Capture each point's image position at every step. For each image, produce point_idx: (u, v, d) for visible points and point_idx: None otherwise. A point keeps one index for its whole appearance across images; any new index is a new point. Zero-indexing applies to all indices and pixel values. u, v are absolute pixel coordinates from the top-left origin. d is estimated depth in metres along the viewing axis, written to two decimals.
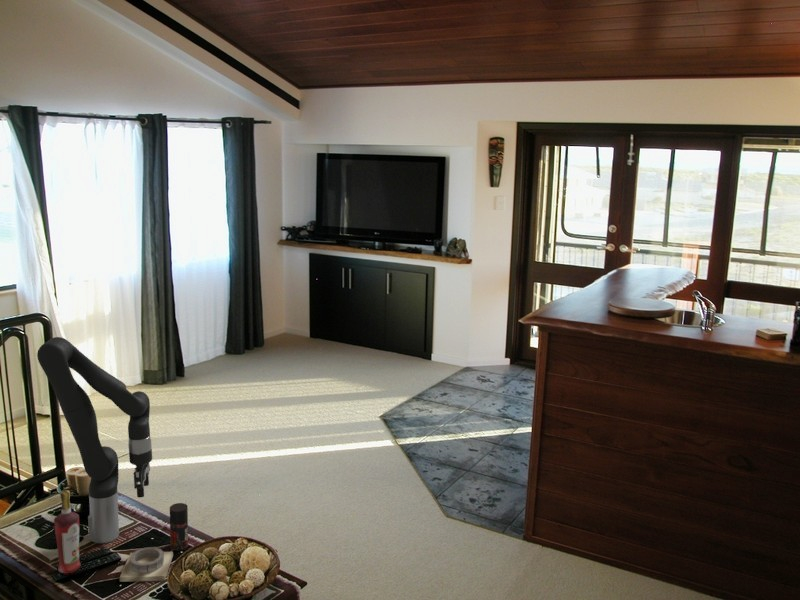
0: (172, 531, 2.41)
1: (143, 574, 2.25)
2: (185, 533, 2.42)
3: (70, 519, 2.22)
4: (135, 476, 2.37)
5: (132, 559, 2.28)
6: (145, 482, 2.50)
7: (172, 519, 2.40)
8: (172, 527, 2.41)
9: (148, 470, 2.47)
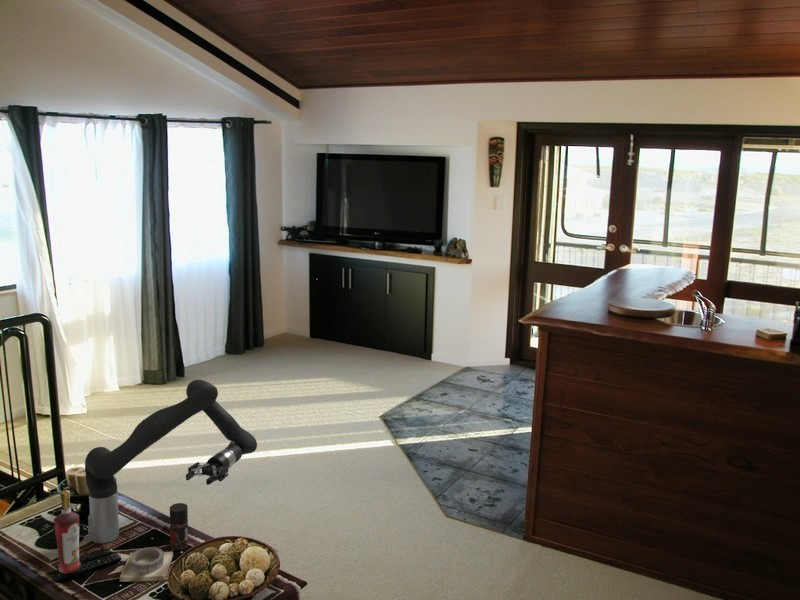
0: (172, 531, 2.41)
1: (143, 574, 2.25)
2: (185, 533, 2.42)
3: (70, 519, 2.22)
4: (227, 471, 2.57)
5: (132, 559, 2.28)
6: (189, 476, 2.53)
7: (172, 519, 2.40)
8: (172, 527, 2.41)
9: (201, 475, 2.58)
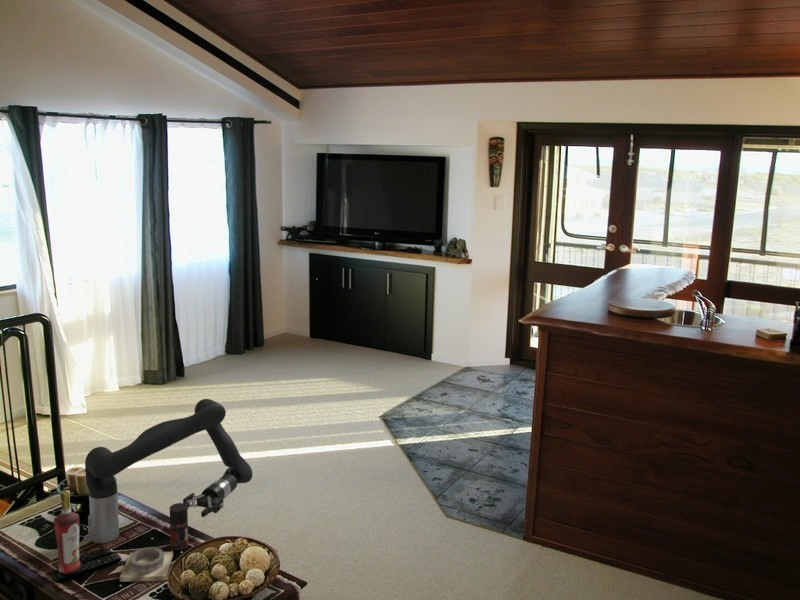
0: (172, 531, 2.41)
1: (143, 574, 2.25)
2: (185, 533, 2.42)
3: (70, 519, 2.22)
4: (222, 502, 2.57)
5: (132, 559, 2.28)
6: None
7: (172, 519, 2.40)
8: (172, 527, 2.41)
9: (196, 506, 2.58)
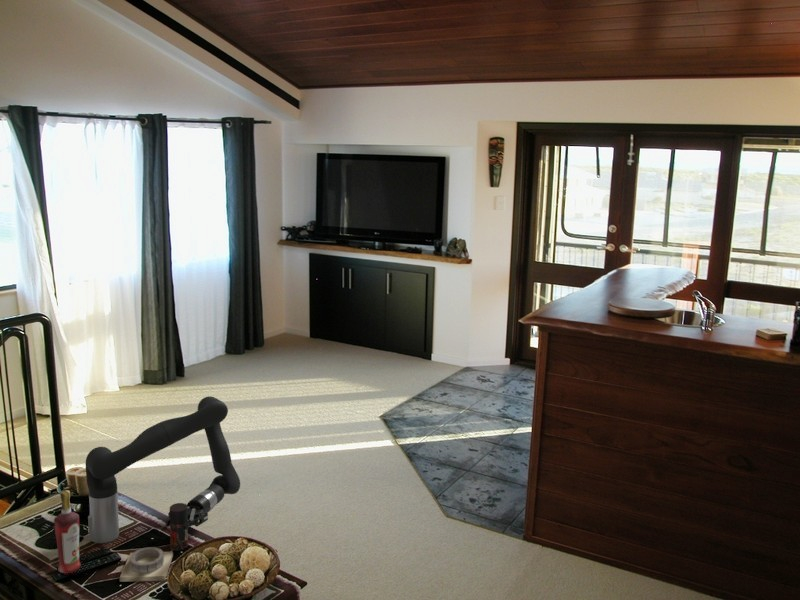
0: (172, 531, 2.41)
1: (143, 574, 2.25)
2: (185, 533, 2.42)
3: (70, 519, 2.22)
4: (205, 516, 2.47)
5: (132, 559, 2.28)
6: (169, 522, 2.43)
7: (172, 519, 2.40)
8: (172, 527, 2.41)
9: None
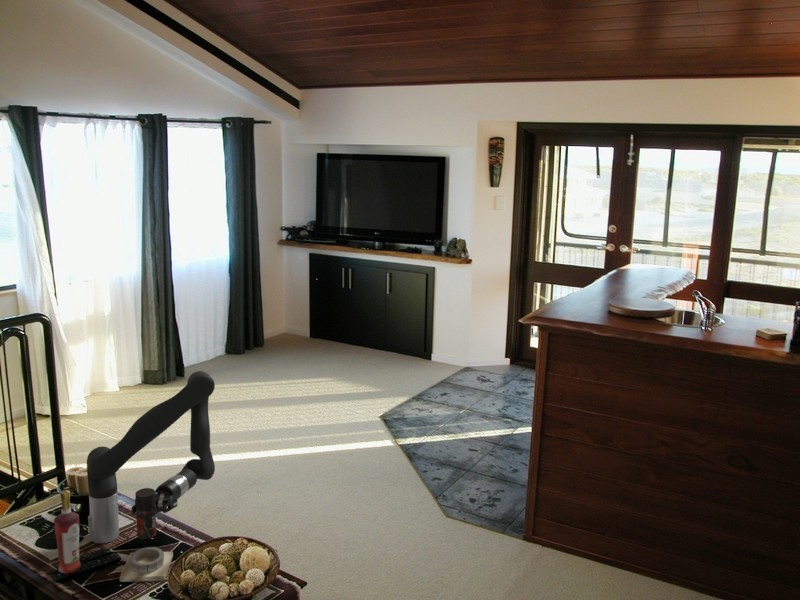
0: (138, 518, 2.25)
1: (143, 574, 2.25)
2: (152, 520, 2.26)
3: (70, 519, 2.22)
4: (175, 502, 2.31)
5: (132, 559, 2.28)
6: None
7: (138, 505, 2.24)
8: (138, 514, 2.24)
9: None
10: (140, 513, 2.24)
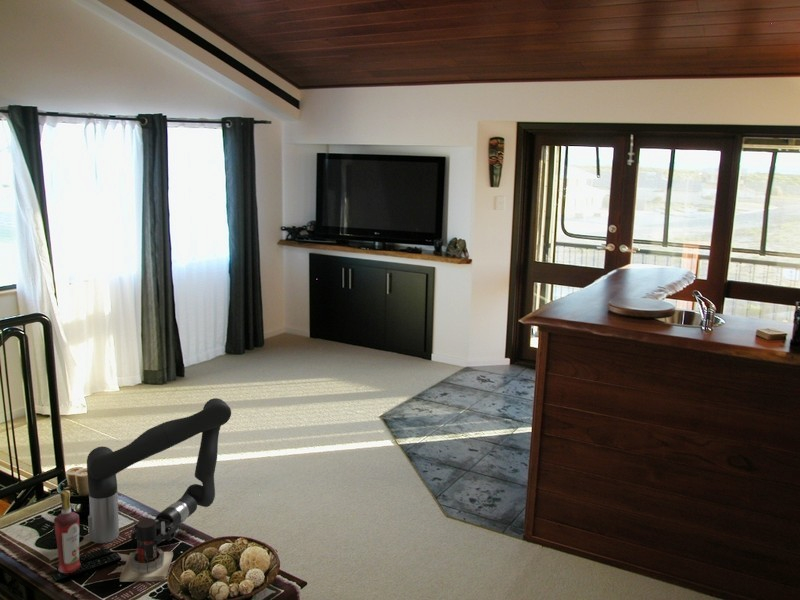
0: (139, 548, 2.27)
1: (143, 574, 2.25)
2: (153, 550, 2.29)
3: (70, 519, 2.22)
4: (177, 529, 2.33)
5: (132, 559, 2.28)
6: (135, 535, 2.29)
7: (139, 536, 2.26)
8: (139, 544, 2.27)
9: None
10: (141, 543, 2.26)
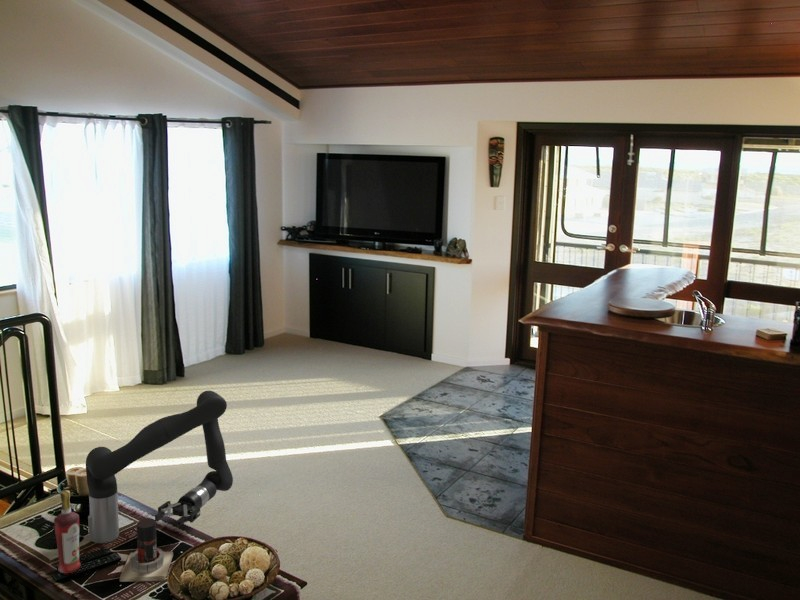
0: (139, 548, 2.27)
1: (143, 574, 2.25)
2: (153, 550, 2.29)
3: (70, 519, 2.22)
4: (198, 511, 2.45)
5: (132, 559, 2.28)
6: (159, 517, 2.41)
7: (139, 536, 2.26)
8: (139, 544, 2.27)
9: (172, 515, 2.46)
10: (141, 543, 2.26)
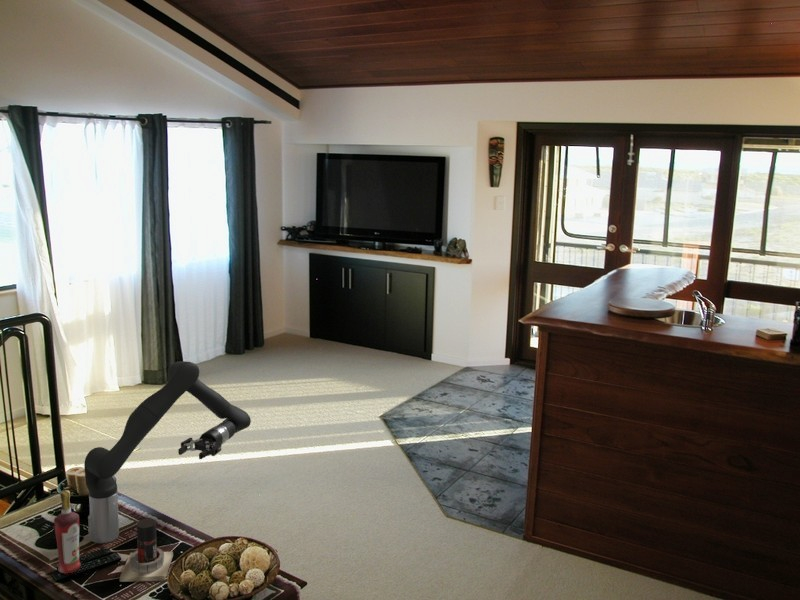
0: (139, 548, 2.27)
1: (143, 574, 2.25)
2: (153, 550, 2.29)
3: (70, 519, 2.22)
4: (220, 446, 2.55)
5: (132, 559, 2.28)
6: (182, 451, 2.51)
7: (139, 536, 2.26)
8: (139, 544, 2.27)
9: (194, 450, 2.56)
10: (141, 544, 2.26)
